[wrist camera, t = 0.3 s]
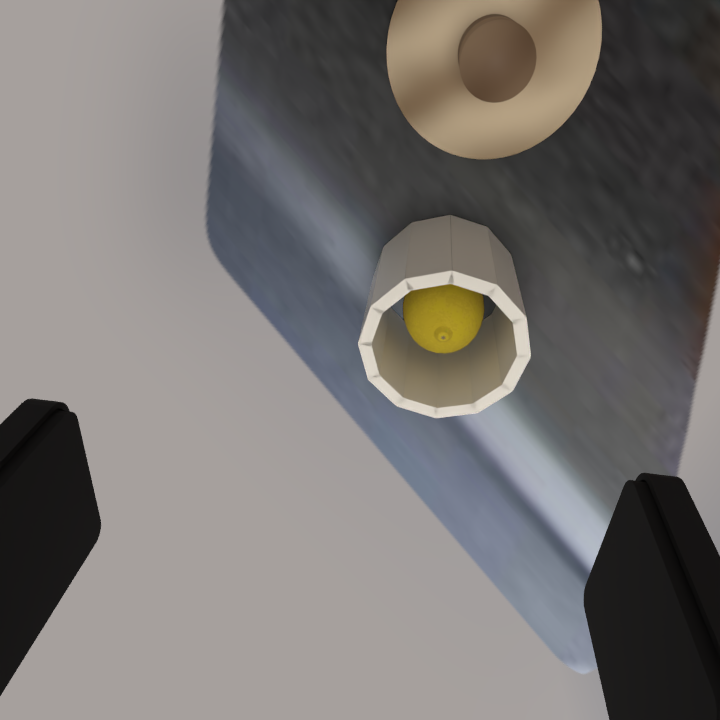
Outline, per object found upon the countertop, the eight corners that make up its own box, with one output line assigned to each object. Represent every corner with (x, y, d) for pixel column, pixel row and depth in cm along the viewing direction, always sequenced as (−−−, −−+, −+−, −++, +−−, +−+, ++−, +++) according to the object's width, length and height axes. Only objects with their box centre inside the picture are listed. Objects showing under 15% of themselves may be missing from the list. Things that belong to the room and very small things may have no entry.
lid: (345, 45, 38) (331, 56, 33) (513, -136, 33) (525, -155, 28) (473, 194, 42) (477, 223, 37) (641, 56, 37) (671, 68, 32)
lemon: (393, 297, 47) (385, 351, 40) (428, 235, 44) (425, 283, 37) (456, 327, 48) (459, 386, 41) (495, 269, 45) (505, 322, 38)
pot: (346, 277, 46) (327, 341, 38) (453, 187, 42) (455, 238, 34) (434, 365, 50) (433, 440, 42) (542, 290, 45) (563, 359, 37)
